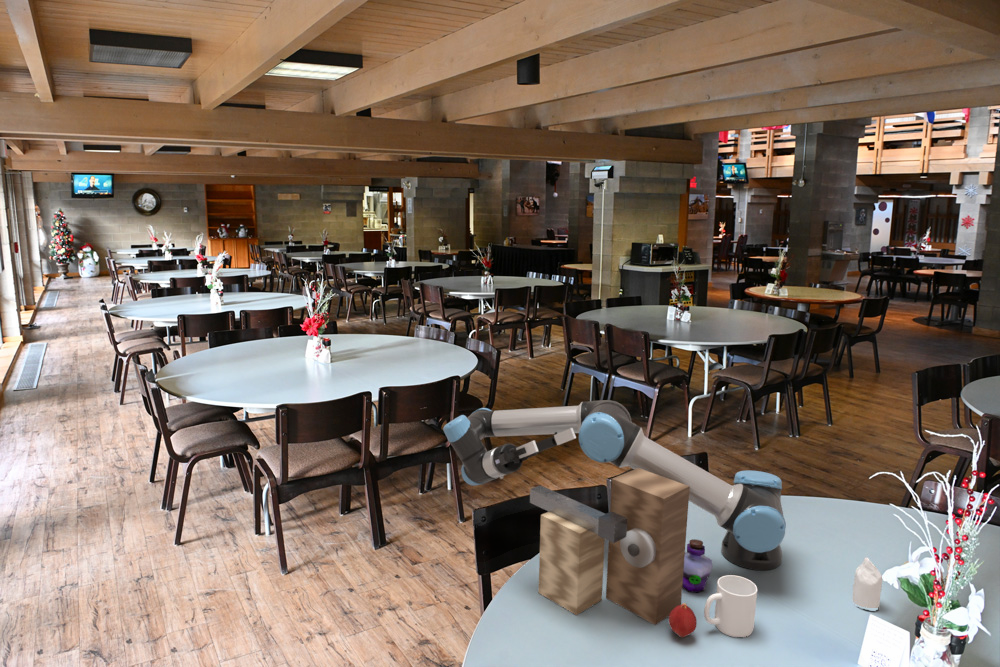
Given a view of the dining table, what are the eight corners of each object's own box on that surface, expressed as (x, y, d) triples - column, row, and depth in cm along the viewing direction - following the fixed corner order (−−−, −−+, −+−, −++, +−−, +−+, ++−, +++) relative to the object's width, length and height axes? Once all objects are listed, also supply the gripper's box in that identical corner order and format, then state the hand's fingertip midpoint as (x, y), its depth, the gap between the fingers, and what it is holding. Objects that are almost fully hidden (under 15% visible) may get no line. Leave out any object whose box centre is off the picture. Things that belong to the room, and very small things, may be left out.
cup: (761, 634, 148) (765, 592, 146) (714, 644, 144) (717, 601, 142) (737, 613, 156) (741, 572, 154) (692, 621, 152) (695, 580, 150)
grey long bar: (528, 503, 165) (529, 486, 164) (541, 498, 168) (541, 481, 167) (613, 543, 146) (614, 524, 145) (626, 536, 149) (627, 518, 148)
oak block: (601, 600, 160) (605, 521, 156) (576, 615, 154) (579, 533, 150) (563, 579, 168) (566, 503, 165) (538, 592, 162) (540, 514, 159)
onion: (664, 628, 150) (666, 595, 148) (689, 627, 150) (692, 594, 149) (672, 645, 144) (675, 611, 142) (699, 644, 144) (702, 610, 143)
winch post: (680, 607, 157) (689, 486, 152) (646, 631, 148) (655, 502, 143) (631, 582, 167) (638, 467, 162) (597, 603, 159) (602, 482, 153)
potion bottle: (683, 598, 161) (687, 551, 159) (669, 578, 170) (672, 534, 167) (717, 595, 163) (721, 549, 160) (701, 576, 171) (705, 531, 169)
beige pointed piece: (891, 562, 156) (873, 566, 154) (884, 609, 158) (867, 614, 156) (868, 550, 161) (851, 554, 159) (862, 595, 163) (845, 600, 161)
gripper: (540, 462, 188) (593, 442, 173) (472, 487, 171) (524, 467, 156) (531, 436, 189) (582, 414, 174) (462, 458, 173) (512, 436, 157)
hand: (555, 439), depth 165 cm, fingers open, 13 cm apart
